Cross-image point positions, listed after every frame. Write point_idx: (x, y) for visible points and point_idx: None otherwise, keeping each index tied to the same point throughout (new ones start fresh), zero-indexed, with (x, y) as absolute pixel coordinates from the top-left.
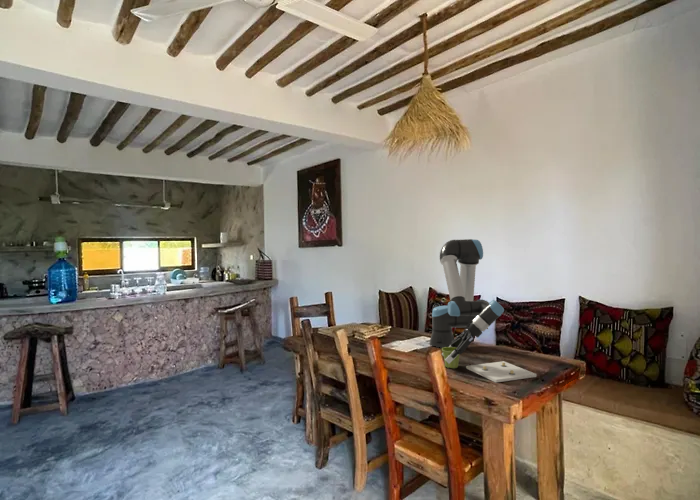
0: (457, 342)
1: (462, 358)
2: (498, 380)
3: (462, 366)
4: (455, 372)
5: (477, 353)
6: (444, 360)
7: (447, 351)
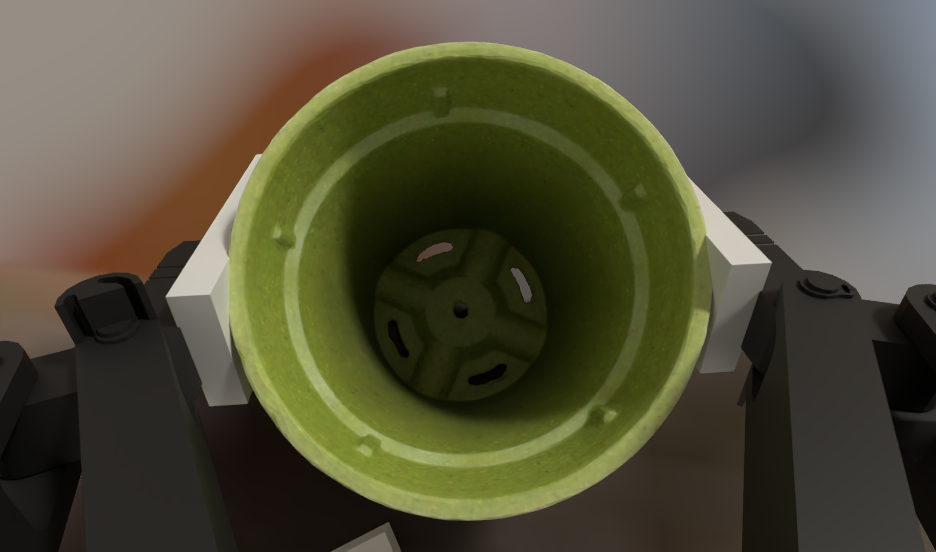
0: (770, 470)
1: (925, 539)
2: None
3: None
4: None
5: None
6: (464, 190)
7: (270, 145)
